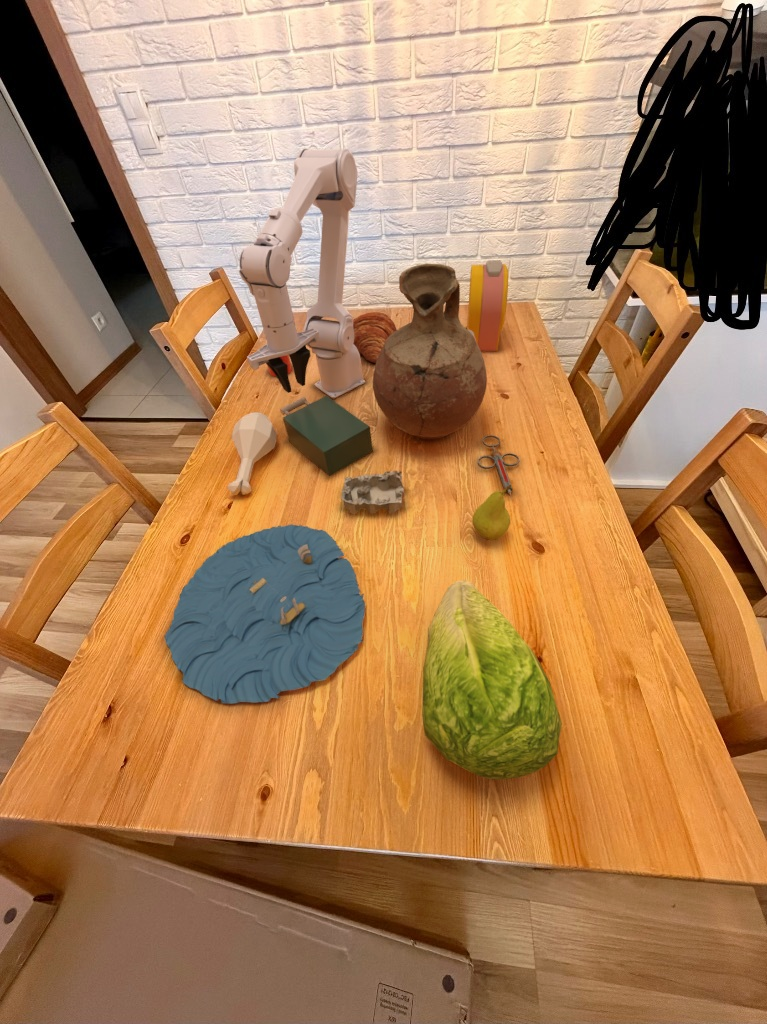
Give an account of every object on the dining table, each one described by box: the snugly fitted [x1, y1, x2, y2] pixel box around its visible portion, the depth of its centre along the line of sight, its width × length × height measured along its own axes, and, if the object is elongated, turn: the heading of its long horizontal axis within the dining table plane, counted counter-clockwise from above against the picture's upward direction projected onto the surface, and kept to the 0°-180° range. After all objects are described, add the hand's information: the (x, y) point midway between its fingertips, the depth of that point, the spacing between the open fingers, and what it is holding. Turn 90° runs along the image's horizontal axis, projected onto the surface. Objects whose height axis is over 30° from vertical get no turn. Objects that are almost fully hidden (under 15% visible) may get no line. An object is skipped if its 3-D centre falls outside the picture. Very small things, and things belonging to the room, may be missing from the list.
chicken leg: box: [227, 411, 278, 496], centre depth 88 cm, size 8×18×8 cm, turn 175°
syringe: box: [476, 434, 520, 502], centre depth 85 cm, size 8×18×2 cm, turn 4°
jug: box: [372, 263, 488, 440], centre depth 84 cm, size 22×22×30 cm
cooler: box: [282, 395, 374, 477], centre depth 91 cm, size 15×11×6 cm
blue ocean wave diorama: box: [164, 524, 366, 705], centre depth 67 cm, size 30×30×5 cm
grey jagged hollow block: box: [340, 470, 405, 515], centre depth 81 cm, size 11×8×4 cm
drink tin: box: [264, 342, 293, 378], centre depth 112 cm, size 6×6×7 cm
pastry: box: [353, 311, 397, 364], centre depth 117 cm, size 17×15×8 cm
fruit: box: [471, 484, 512, 541], centre depth 71 cm, size 6×6×12 cm
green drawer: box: [279, 396, 311, 416], centre depth 93 cm, size 18×9×4 cm, turn 40°
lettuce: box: [421, 579, 563, 781], centre depth 55 cm, size 15×24×14 cm, turn 3°
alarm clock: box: [466, 259, 509, 352], centre depth 111 cm, size 15×8×18 cm, turn 173°
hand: (294, 387), depth 92 cm, fingers open, 3 cm apart
